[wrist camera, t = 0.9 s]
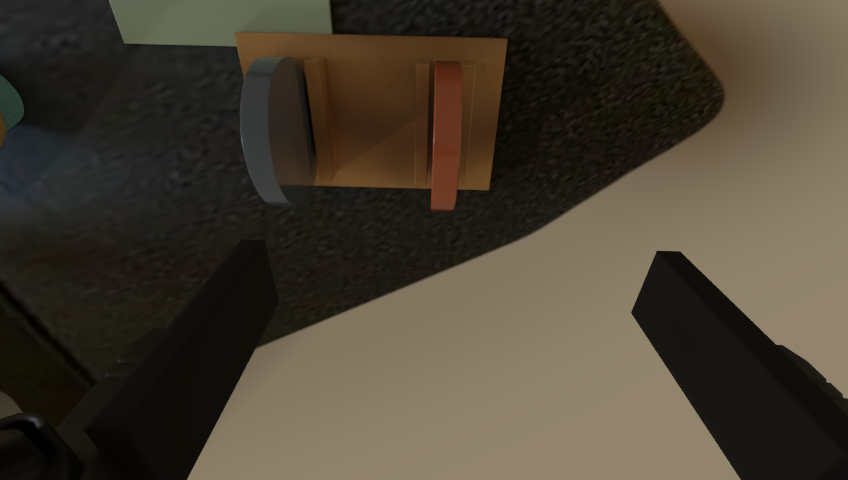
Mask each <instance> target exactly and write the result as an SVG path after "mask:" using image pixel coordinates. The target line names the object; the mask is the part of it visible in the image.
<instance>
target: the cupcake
mask: <svg viewBox="0 0 848 480" xmlns="http://www.w3.org/2000/svg"><path fill="white" fill-rule="evenodd" d="M23 115H24V106H23V102H22V100H21V97H20V95H19V94H18V92H17V91H16V89H15V88H14V87H13V86H12V85H11V84H10V83H9V82H8V81H7V80H6V79H5V78H4V77H3V76H1V75H0V149H1V146H2V144H3V141H4V136H5V134H6V132H7V131H8V130H9V129H10V128H12V127H13V126H14V125H16V124H17V123H18V122H20V120H21V119H22V118H23Z"/></svg>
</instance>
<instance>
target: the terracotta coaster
mask: <svg viewBox="0 0 848 480" xmlns="http://www.w3.org/2000/svg"><path fill="white" fill-rule="evenodd" d="M461 133H462V69H461V63H460V61H458V60H435V65H434V87H433V115H432V148H431V189H430V210H431V211H453V210H454V207H455V203H456V196H457V188H458V179H459V167H460V152H461Z"/></svg>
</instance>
